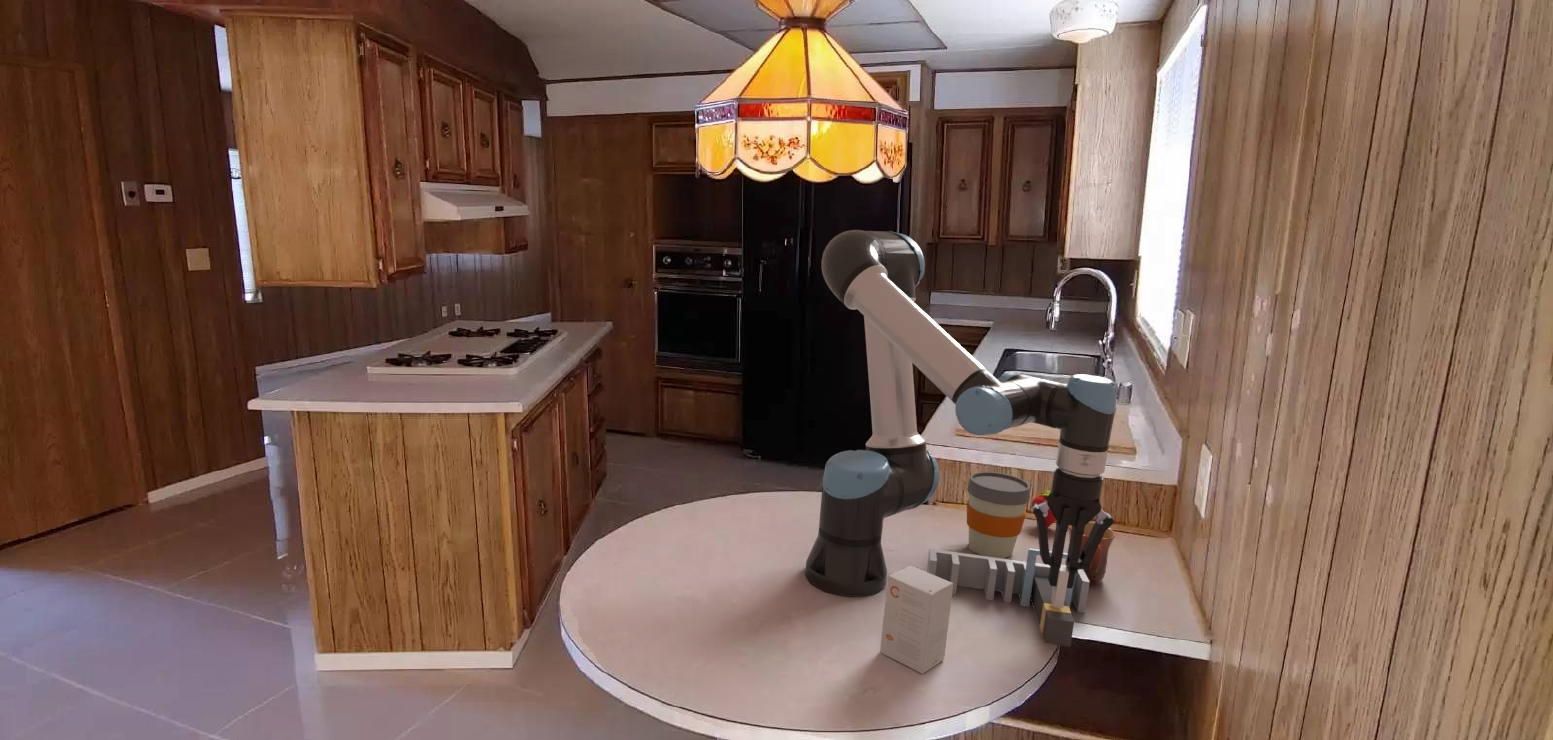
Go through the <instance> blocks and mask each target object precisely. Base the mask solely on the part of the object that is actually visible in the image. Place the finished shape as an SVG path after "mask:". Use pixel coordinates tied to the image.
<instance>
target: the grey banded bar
mask: <svg viewBox="0 0 1553 740" xmlns="http://www.w3.org/2000/svg"><path fill="white" fill-rule="evenodd" d="M1052 591H1053V586H1050V583H1049V580H1048V578H1046V577H1039V576H1034V579H1033V586H1032V592H1031V596H1030V601H1031V600H1032V601H1031V604H1032V603H1033V604H1032V606H1033V609H1034V613H1036V614H1035V617H1036V616H1037V617H1036V619H1037V623H1038V625H1039V629H1040V633H1041V635H1042V638H1043V641H1044V644H1046V645H1047V644H1048V645H1055V646H1061V647H1068V648H1071V643H1072V639H1073V633H1074V625H1075V621H1074V618H1073V615H1072V612H1071V609H1069V606H1068V605H1067V603H1066V601H1065V600H1064V606H1063V608H1058V607H1054V606H1053V603H1052V601H1051V597H1052Z"/></svg>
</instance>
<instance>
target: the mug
mask: <svg viewBox="0 0 1553 740" xmlns="http://www.w3.org/2000/svg"><path fill="white" fill-rule="evenodd" d="M1094 524H1095V522H1093V521H1090V522H1089V523H1088V524H1087V525H1085V529H1084V534H1083V536H1082V542H1081V548H1080V554H1081V552H1082V550H1083V548H1084V546H1085V543H1086V541H1087V539H1088V537H1089V535H1090V532H1091V530H1092V528H1093V526H1094ZM1071 531H1072V525H1069V526H1068V531H1067V532H1068V536H1069V538H1068V539H1069V540H1068V541H1069V542H1068V545H1069V544H1070V537H1071ZM1116 536H1117V534H1116V532H1115V531H1114V530H1113V529H1111V527H1109V528H1108V529H1107V530H1106V531H1105V533H1104V535H1103V537H1102V540H1101V542H1100V544H1099V546H1098V548H1097V550H1096V553H1095V555H1094V557H1093V559H1092V561H1091V564H1090V566H1089V568H1088V569H1086V570H1084V569H1083V570H1084V572H1085V574H1086V576H1087V578H1088V580H1089V582H1090V584H1089V586H1095V585H1099V584H1101V583H1102V582H1103V580H1104V577H1105V574H1106V572H1107V571H1106V570H1107V566H1108V558H1109V557H1108V556H1109V551H1110V547H1111V545H1112V544H1113V542H1114V540H1115V538H1116ZM1068 550H1069V546H1068V547H1067V551H1066V553H1068ZM1080 554H1079V556H1080ZM1064 565H1066V566H1067V559H1065V564H1064Z"/></svg>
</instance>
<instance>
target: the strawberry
mask: <svg viewBox="0 0 1553 740" xmlns="http://www.w3.org/2000/svg"><path fill="white" fill-rule="evenodd" d="M1050 487H1051V488H1052V485H1050ZM1050 493H1051V490H1048V489H1047V490H1046V491H1045V492H1038V494H1039V495H1036V496H1035V497H1033V499H1032V502H1031V506H1032V505H1033V504H1038V505H1039V504H1041V503H1043V502H1045V501H1046V499H1047V497H1048V496H1049V494H1050ZM1047 512H1048V515H1047V516H1046V517H1044V518H1045V520H1046V525H1047V529H1048V528H1049V527H1051V526H1052V524H1054V523H1056V519H1055V517H1054V515H1053V513H1052V512H1051V510H1050V508H1049V509H1048V511H1047Z"/></svg>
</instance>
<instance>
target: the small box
mask: <svg viewBox="0 0 1553 740" xmlns="http://www.w3.org/2000/svg"><path fill="white" fill-rule="evenodd" d="M952 590H953V583H952V582H949V581H947V580H944V579H942V578H940V577H937V576H935V575H932V574H930V573H927V571H925V570H923V569H920V568H917V567H915V566H914V565H908V566H906V567H904V568H902V569H900V570H898V571H896V572H893V573H891V574H890V575H888V576H887V585H886V592H885V593H886V594H885V602H884V612H883V613H884V614H883V620H882V629H881V638H880V649H879V653H881V654H883V655H885V656H887V657H889V658H891V659H893V660H895V661H896V662H897V663H898V662H899V663H900V664H902V665H904V666H906V667H907V668H908V667H909V668H910V669H912V670H915V671H916V672H918V673H920V675H921V674H922V675H923V674H924V673H926V672H928V671H929V670H930V669H932V668H934V667H935V666H936V665H938V664H939V663H941V662H942V661H944V660H945V656H946V654H945V653H946V648H947V646H946V645H947V639H948V631H949V624H950V623H949V620H950V614H951V608H952V607H951V606H952V597H953V594H952Z"/></svg>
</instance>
